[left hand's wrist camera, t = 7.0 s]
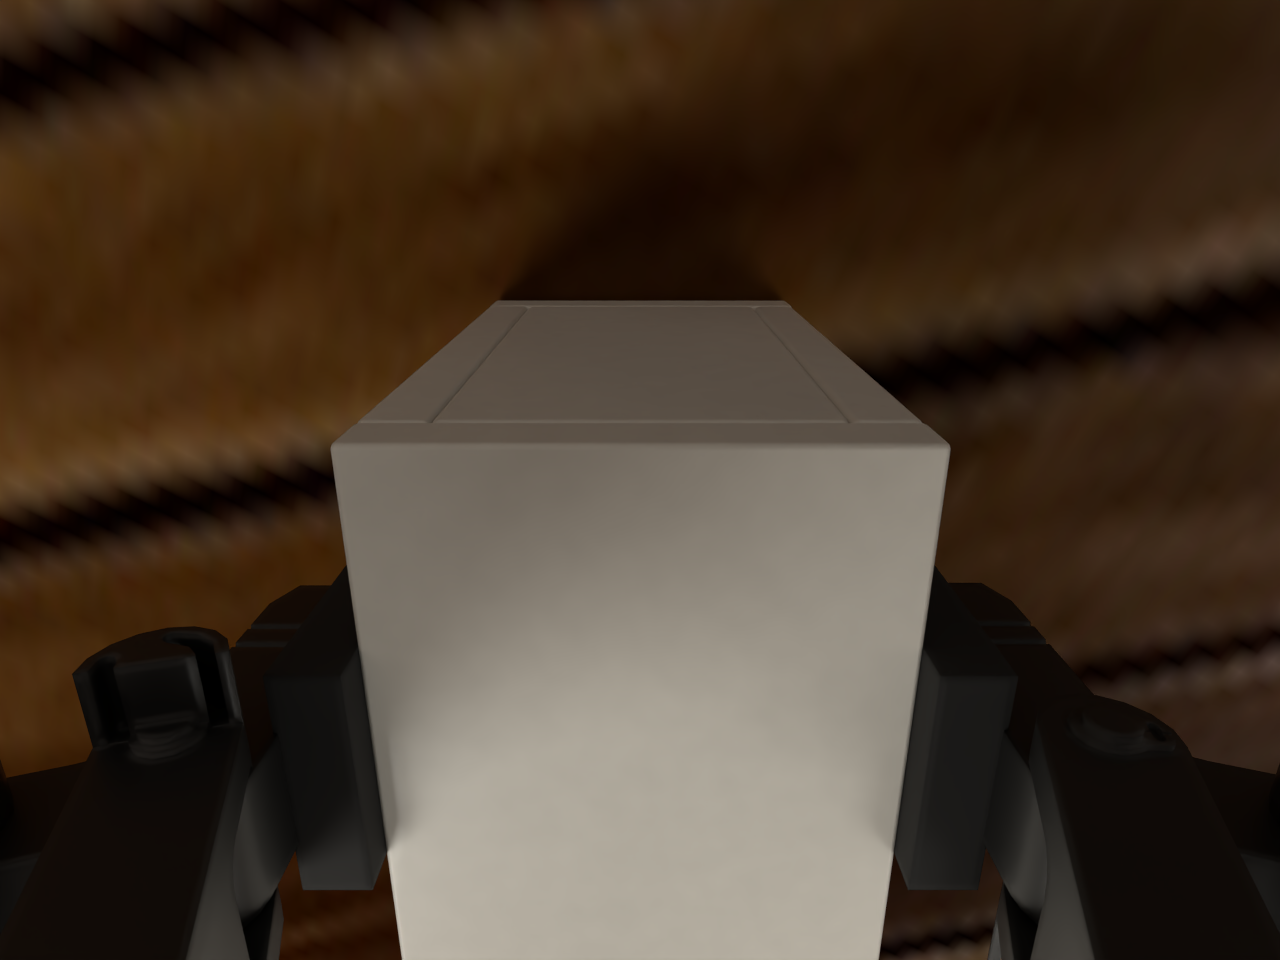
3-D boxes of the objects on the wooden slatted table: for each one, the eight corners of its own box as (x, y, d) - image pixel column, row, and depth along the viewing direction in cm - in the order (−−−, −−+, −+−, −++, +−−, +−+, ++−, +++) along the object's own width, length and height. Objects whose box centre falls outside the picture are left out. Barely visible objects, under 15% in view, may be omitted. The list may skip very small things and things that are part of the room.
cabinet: (739, 1046, 24) (796, 1549, 15) (541, 1045, 24) (482, 1549, 15) (786, 300, 16) (953, 444, 8) (495, 300, 16) (327, 444, 8)
